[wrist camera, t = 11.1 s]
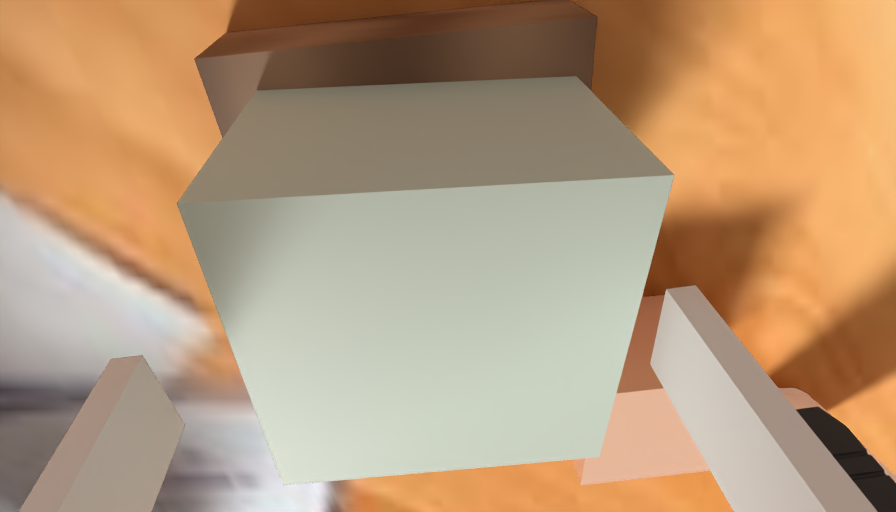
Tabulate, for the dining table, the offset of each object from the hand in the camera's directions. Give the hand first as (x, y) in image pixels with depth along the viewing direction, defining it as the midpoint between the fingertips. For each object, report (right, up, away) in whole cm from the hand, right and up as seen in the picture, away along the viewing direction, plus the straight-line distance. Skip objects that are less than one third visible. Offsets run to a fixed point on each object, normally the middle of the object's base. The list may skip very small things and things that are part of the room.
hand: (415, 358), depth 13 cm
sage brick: (0, +4, +6) cm, 7 cm away
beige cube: (+10, -2, +16) cm, 19 cm away
